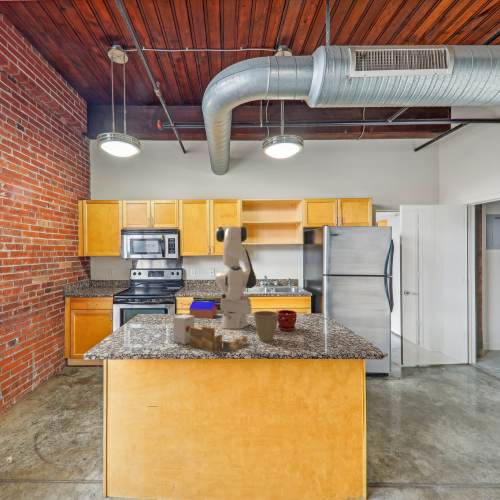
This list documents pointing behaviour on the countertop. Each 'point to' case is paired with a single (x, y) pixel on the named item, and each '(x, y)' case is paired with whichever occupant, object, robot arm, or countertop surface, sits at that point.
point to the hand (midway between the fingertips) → (235, 320)
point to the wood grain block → (205, 338)
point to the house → (203, 309)
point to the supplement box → (182, 328)
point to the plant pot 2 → (287, 320)
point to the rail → (234, 343)
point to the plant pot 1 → (266, 324)
